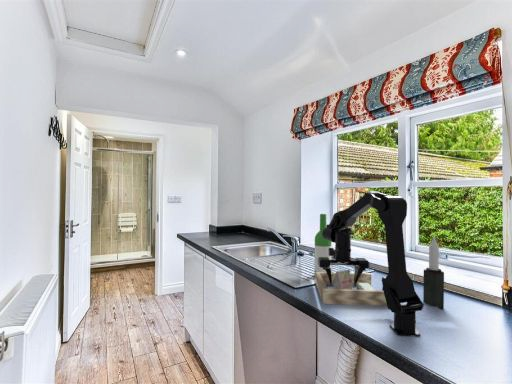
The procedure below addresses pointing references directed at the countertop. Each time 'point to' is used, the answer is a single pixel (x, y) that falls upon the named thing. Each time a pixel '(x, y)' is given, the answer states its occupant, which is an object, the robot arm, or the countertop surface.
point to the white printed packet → (342, 280)
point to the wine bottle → (321, 245)
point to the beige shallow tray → (348, 291)
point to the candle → (433, 279)
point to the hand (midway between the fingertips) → (342, 284)
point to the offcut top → (365, 286)
